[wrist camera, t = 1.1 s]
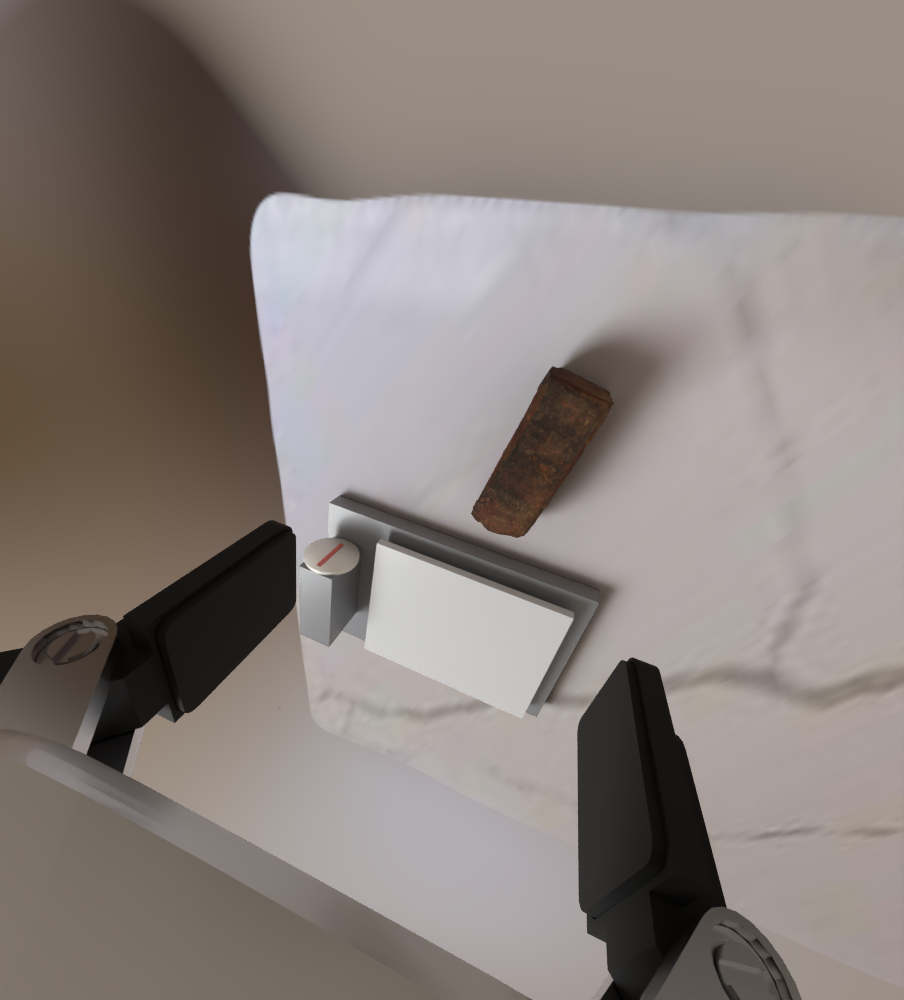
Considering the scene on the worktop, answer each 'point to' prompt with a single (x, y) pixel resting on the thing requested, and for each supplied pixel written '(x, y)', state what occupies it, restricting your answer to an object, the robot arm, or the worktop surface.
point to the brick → (541, 452)
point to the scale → (442, 606)
